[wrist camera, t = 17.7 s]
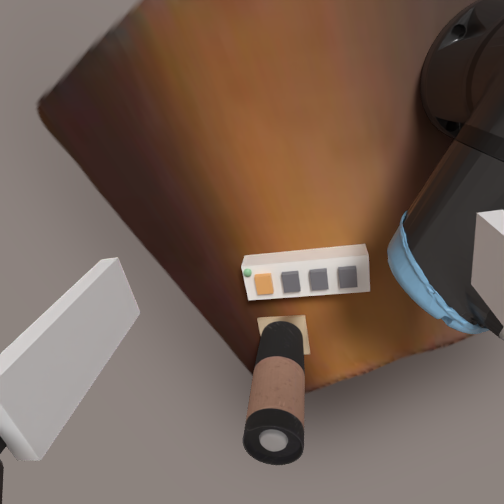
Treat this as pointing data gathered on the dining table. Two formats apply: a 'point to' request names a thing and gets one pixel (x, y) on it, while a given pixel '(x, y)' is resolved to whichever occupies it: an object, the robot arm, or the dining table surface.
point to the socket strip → (307, 272)
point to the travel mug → (277, 397)
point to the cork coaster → (296, 320)
